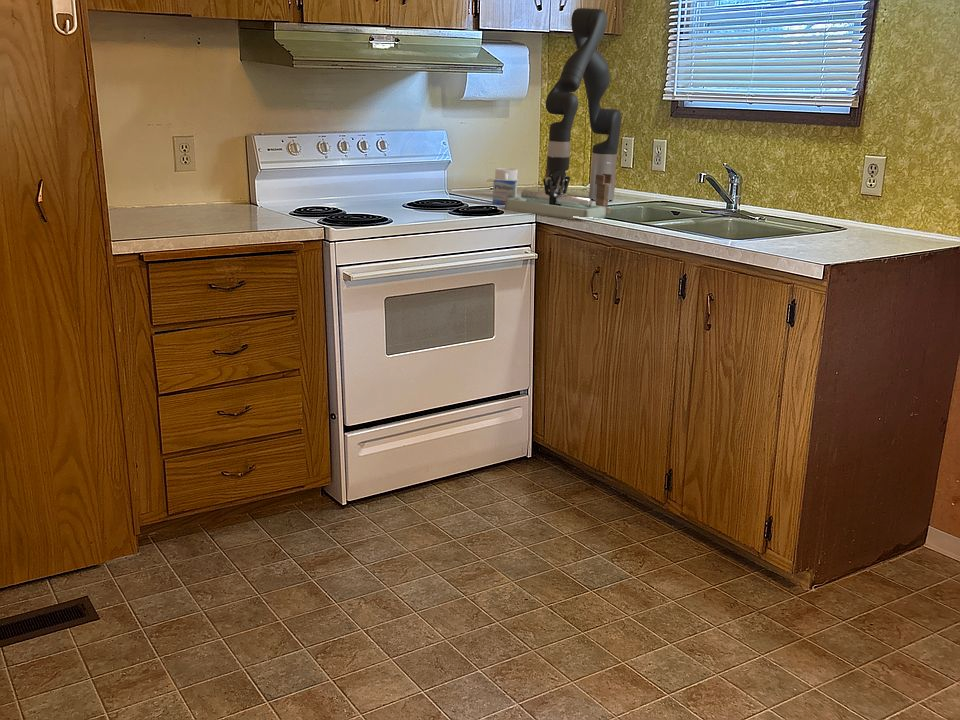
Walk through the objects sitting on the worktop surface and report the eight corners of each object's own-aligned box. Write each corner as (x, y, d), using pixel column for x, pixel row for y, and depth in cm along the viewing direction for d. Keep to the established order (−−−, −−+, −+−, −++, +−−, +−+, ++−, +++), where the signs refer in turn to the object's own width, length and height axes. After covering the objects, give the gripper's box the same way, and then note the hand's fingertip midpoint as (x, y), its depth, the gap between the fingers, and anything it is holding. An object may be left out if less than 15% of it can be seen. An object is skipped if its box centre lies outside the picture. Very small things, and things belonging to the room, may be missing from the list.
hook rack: (551, 204, 332) (553, 167, 328) (610, 212, 318) (613, 174, 314) (542, 206, 327) (544, 168, 323) (601, 214, 314) (605, 175, 310)
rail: (525, 198, 319) (526, 189, 318) (591, 207, 305) (591, 198, 304) (520, 198, 317) (521, 190, 316) (586, 208, 303) (587, 199, 302)
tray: (525, 205, 326) (526, 195, 325) (605, 217, 308) (606, 206, 307) (504, 209, 316) (505, 198, 315) (585, 221, 298) (586, 210, 297)
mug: (515, 200, 338) (517, 171, 335) (493, 199, 339) (494, 170, 336) (516, 196, 350) (518, 168, 347) (494, 195, 350) (496, 167, 347)
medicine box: (492, 204, 325) (493, 179, 323) (493, 203, 330) (494, 178, 327) (514, 206, 325) (515, 181, 322) (515, 204, 329) (516, 179, 326)
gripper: (560, 153, 314) (556, 204, 319) (537, 155, 303) (534, 208, 308) (579, 155, 310) (575, 206, 315) (556, 157, 299) (553, 210, 304)
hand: (555, 207), depth 311 cm, fingers closed on rail, 3 cm apart
